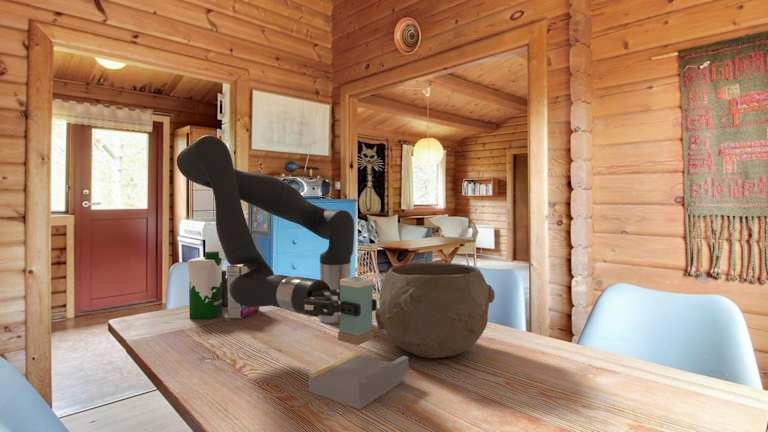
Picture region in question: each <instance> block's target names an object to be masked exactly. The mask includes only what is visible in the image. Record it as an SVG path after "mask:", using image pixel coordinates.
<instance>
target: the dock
mask: <svg viewBox="0 0 768 432" xmlns="http://www.w3.org/2000/svg"><path fill="white" fill-rule="evenodd" d="M408 370H409V356H406V355H402V356H400V357H398V358H396V359H395V360H392V361H391V362H389V361H386V360H383V359H382V360H381V359H377V358H373V357H371V356H367V355H362V354H360V353H354V354H352V355H350V356H348V357H345V358H343V359H341V360H339V361H337V362H334V363H333V364H330V365H329V366H326V367H324V368H322V369H320V370H318V371H315V372H313V373H311V374H310V375H308V392H309V393H312V394H314V395H318V396H320V397H323V398H326V399H329V400H332V401H334V402H337V403H340V404H343V405H345V406H348V407H352V408H353V409H357V410H361V409H362V408H364V407H365V406H368V405H369V404H370V403H371V402H373V401H375V400H376V399H378V398H380V397H381V396H383V395H384V394H386V393H387V392H389V391H390V390H391V389H393V388H395V387H396V386H398V385H400V384H401V383H403V381H404V372H406V371H408Z"/></svg>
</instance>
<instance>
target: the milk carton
mask: <svg viewBox="0 0 768 432" xmlns="http://www.w3.org/2000/svg"><path fill="white" fill-rule="evenodd" d="M223 260H224V257H222V256H221V257H220V252H219V251H217V250H216V251H214V250H213V251H211V250H210V251H205V253H204V257H202V256H199V257H196V258H191V259H188V260H187V268H188V269H187V270H188V291H189V292H188V297H189V299H188V300H189V302H188V303H189V308H188V309H189V319H190V320H192V319H193V320H194V319H195V320H196V319H197V320H199V319H200V320H203V319H204V320H213V319H214V318H216V317H218V316H219V315H221V314H222V313H223V307H222V270H223V269H222V268H223Z"/></svg>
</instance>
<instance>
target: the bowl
mask: <svg viewBox="0 0 768 432" xmlns="http://www.w3.org/2000/svg"><path fill="white" fill-rule="evenodd" d="M495 296H496V295H495V291H494V289H493V288H492V286H491V285H489V284H488V283H487V281H486V278H484V275H483V273H482V271H481V270H480V269H479V268H478V267H476V266H472V265H467V264H461V263H450V262H415V263H404V264H398V265H394V266H391V267H390V268H389V269H388V271H387V272H386V274H385V275H384V278H383V280H382V283H381V286H380V291H379V296H378V297H379V299H378V302H379V303H378V305H379V308H377V309H376V310H375V313H374V314H375V320H376V325H377V329H378V330H379V331H385V332H386V333H387V334H388V335H389V337H390V338H391V339H392V340H393V341H394V342H395V343H396V345H398V346H399V347H401V348H402V349H403V350H404V351H405V352H407V353H410V354H412V355H415V356H418V357H422V358H427V359H437V358H448V357H452V356H453V357H454V356H456V355H458V354H462V353H464V352H466V351H468V350H470V348H471V347H473V346H474V345H475V344H476V343H477V342H478V340H479V339H480V338H481V336H482V334H484V332H485V330H486V328H487V325H488V321H489V320H488V316H489V307H490V304H492V303H493V302H494V300H495V298H496V297H495Z"/></svg>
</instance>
